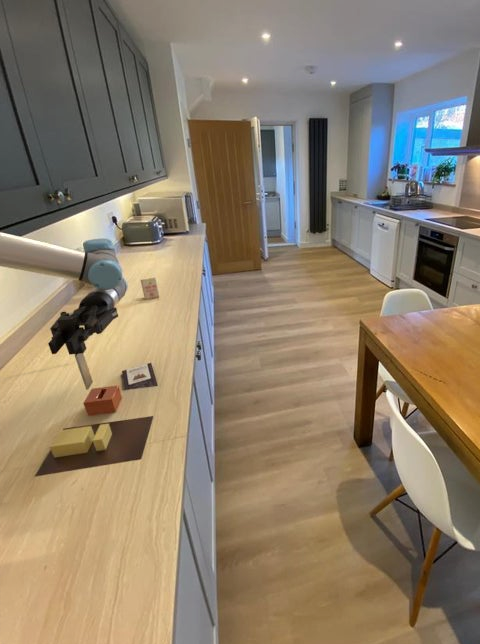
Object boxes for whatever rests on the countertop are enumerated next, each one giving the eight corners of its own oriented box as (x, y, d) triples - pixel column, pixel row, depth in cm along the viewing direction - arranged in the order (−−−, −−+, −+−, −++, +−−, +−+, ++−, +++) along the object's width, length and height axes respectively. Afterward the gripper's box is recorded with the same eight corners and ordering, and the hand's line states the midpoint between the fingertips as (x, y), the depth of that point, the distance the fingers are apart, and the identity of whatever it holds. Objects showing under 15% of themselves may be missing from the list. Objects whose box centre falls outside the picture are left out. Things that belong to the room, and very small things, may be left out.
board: (36, 481, 71) (34, 476, 71) (64, 432, 84) (63, 428, 83) (142, 463, 75) (141, 459, 75) (154, 419, 88) (153, 415, 87)
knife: (80, 390, 79) (55, 321, 71) (85, 382, 81) (62, 315, 73) (94, 388, 79) (71, 320, 71) (98, 381, 82) (76, 314, 74)
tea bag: (144, 297, 165) (140, 278, 161) (158, 294, 167) (155, 276, 163) (144, 299, 162) (140, 281, 158) (159, 297, 164) (155, 278, 160)
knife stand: (89, 420, 88) (83, 402, 85) (97, 405, 93) (91, 388, 91) (117, 416, 89) (111, 399, 87) (123, 401, 94) (118, 385, 92)
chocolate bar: (126, 403, 92) (121, 370, 106) (127, 406, 92) (122, 373, 106) (160, 392, 96) (151, 362, 110) (160, 395, 97) (151, 365, 111)
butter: (54, 457, 75) (49, 446, 74) (63, 440, 79) (59, 430, 78) (87, 452, 76) (83, 441, 75) (94, 436, 81) (91, 425, 79)
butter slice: (96, 451, 77) (92, 440, 75) (103, 435, 81) (100, 424, 80) (105, 449, 77) (101, 439, 76) (112, 433, 81) (108, 423, 80)
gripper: (133, 312, 93) (106, 357, 72) (71, 318, 90) (25, 366, 69) (127, 288, 90) (98, 328, 69) (63, 293, 87) (12, 336, 66)
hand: (61, 347), depth 69 cm, fingers closed on knife, 3 cm apart
